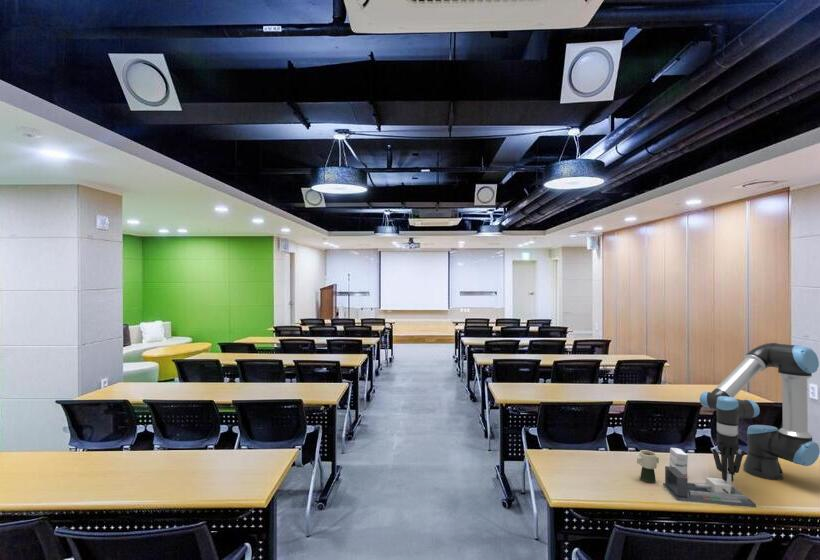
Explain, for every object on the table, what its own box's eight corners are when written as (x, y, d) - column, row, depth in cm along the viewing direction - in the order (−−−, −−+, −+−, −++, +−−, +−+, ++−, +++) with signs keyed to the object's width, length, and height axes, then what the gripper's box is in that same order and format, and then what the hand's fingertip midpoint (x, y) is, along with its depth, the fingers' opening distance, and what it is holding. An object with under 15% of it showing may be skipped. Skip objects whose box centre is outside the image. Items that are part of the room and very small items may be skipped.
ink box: (688, 480, 199) (688, 454, 200) (676, 478, 200) (676, 453, 201) (680, 472, 208) (680, 448, 208) (669, 471, 209) (668, 447, 209)
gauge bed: (735, 491, 188) (735, 470, 188) (756, 507, 174) (755, 484, 175) (663, 485, 193) (663, 465, 193) (677, 500, 179) (677, 478, 180)
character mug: (653, 476, 202) (653, 449, 202) (664, 483, 195) (664, 455, 195) (632, 477, 201) (632, 450, 201) (642, 484, 194) (642, 456, 194)
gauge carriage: (721, 490, 186) (721, 478, 186) (735, 501, 176) (735, 489, 176) (691, 487, 188) (691, 476, 188) (704, 499, 177) (704, 487, 178)
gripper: (738, 431, 186) (739, 485, 185) (706, 429, 188) (706, 483, 187) (749, 437, 178) (749, 493, 178) (715, 435, 180) (716, 490, 180)
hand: (727, 488), depth 182 cm, fingers closed
